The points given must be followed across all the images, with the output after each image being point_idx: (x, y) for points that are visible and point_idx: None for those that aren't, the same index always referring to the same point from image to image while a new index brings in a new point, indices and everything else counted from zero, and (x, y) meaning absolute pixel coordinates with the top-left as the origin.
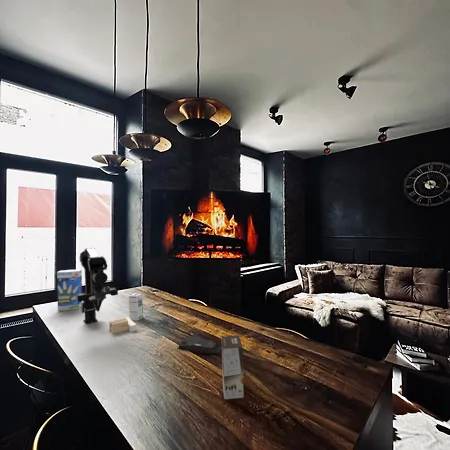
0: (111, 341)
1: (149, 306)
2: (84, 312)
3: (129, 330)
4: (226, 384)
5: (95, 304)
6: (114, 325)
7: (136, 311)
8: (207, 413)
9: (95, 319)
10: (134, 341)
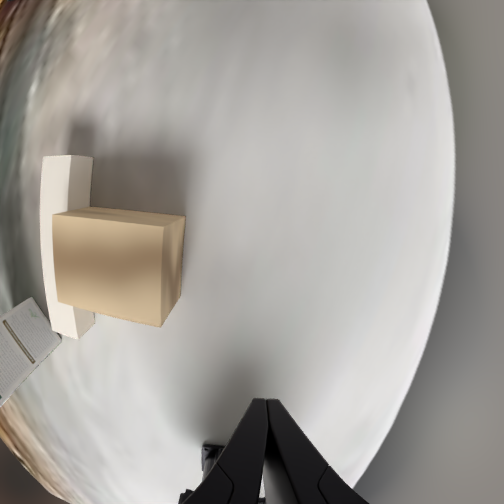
0: (240, 92)
1: None
2: (261, 498)
3: (90, 183)
4: None
5: (335, 486)
6: (149, 223)
7: (4, 325)
8: None
9: (209, 457)
10: (148, 18)
